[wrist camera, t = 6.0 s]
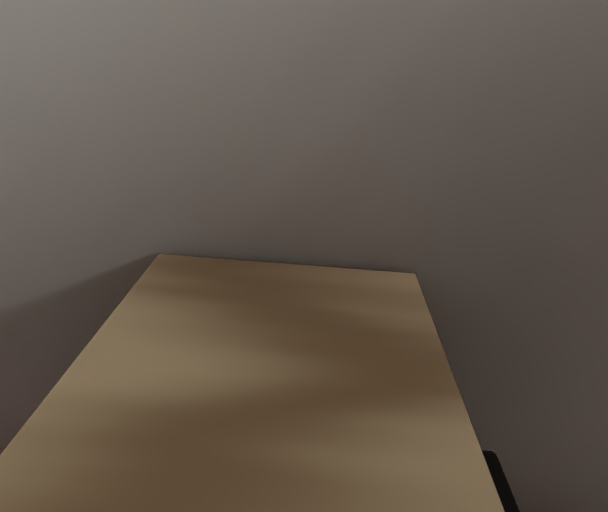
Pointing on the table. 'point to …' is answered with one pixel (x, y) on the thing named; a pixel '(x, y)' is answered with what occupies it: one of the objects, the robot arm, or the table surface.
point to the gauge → (254, 401)
